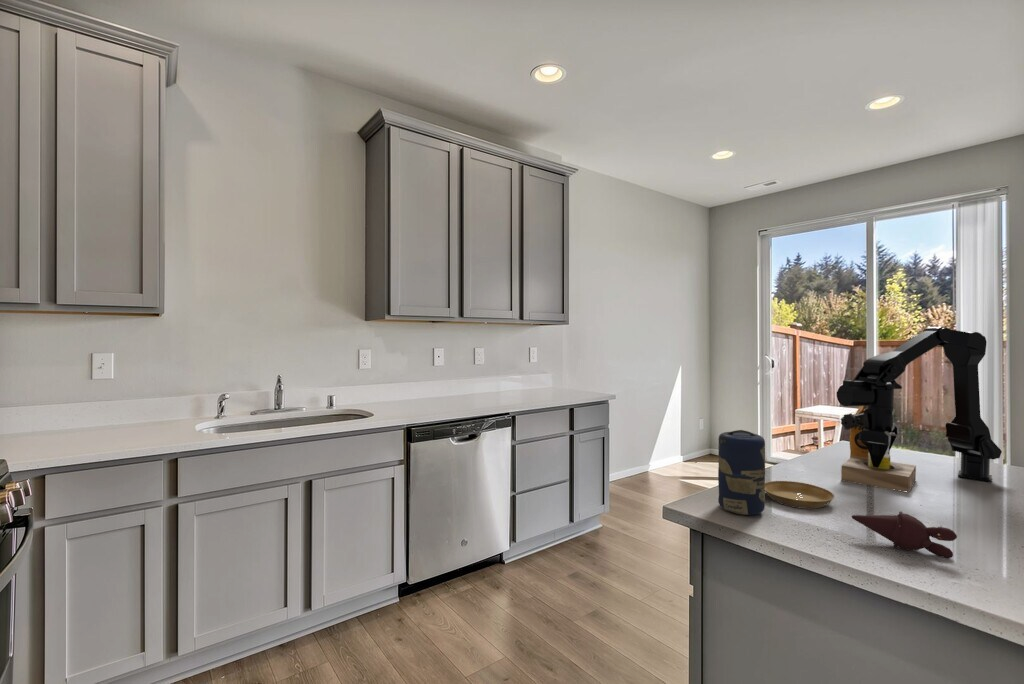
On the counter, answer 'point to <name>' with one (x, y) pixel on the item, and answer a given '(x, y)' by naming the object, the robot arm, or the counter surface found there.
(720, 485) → the canister
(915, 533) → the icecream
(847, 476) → the wooden holder block
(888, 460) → the supplement bottle
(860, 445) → the coffee package
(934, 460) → the counter surface
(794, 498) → the plant saucer
